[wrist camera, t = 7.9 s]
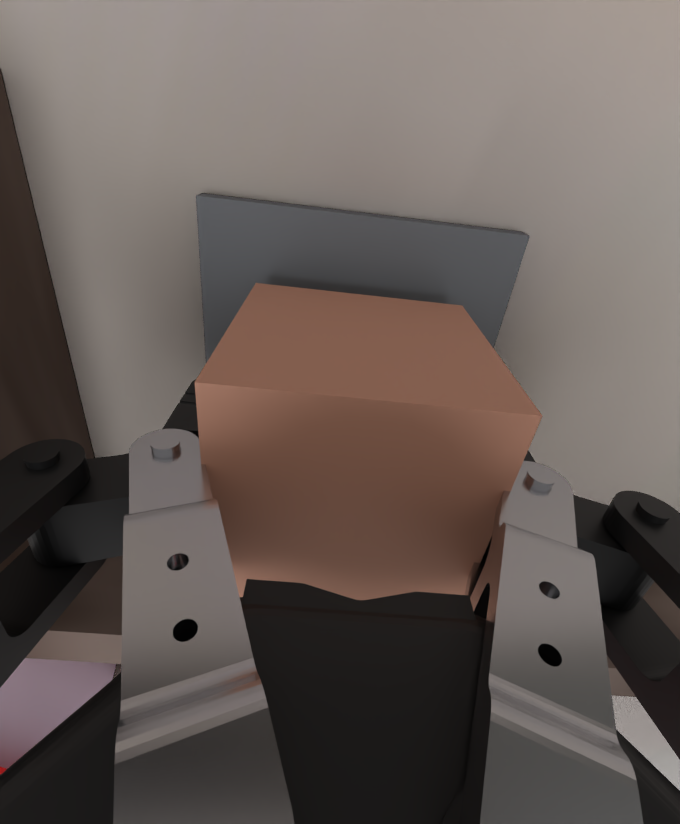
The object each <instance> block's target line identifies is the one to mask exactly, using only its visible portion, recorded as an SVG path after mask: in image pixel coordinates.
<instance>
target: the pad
mask: <svg viewBox="0 0 680 824" xmlns="http://www.w3.org/2000/svg"><path fill="white" fill-rule="evenodd" d="M196 204H197V220H198V237H199V253H200V270H201V287H202V303H203V320H204V337H205V353H206V363H207V361H208V360H209V358H210V356H211V355H212V353H213V351H214V350H215V348H216V347H217V345H218V343H219V342H220V340H221V339H222V337H223V335H224V334H225V332H226V330H227V329H228V327H229V326H230V324H231V322H232V321H233V319H234V317H235V316H236V314H237V313H238V311H239V309H240V308H241V306H242V304H243V303H244V301H245V300H246V298H247V296H248V295H249V293H250V291H251V290H252V288H253V287H254V285H255V283H262V284H271V285H280V286H289V287H298V288H307V289H316V290H325V291H335V292H344V293H353V294H362V295H371V296H380V297H389V298H398V299H408V300H417V301H426V302H435V303H444V304H453V305H462V306H463V307H464V309H465V310H466V311H467V313H468V314H469V316H470V317H471V318H472V320H473V321H474V322H475V324H476V325H477V327H478V328H479V329H480V331H481V332H482V333H483V335H484V336H485V338H486V339H487V340H488V342H489V343H490V344H491V346H492V347H493V348H494V345H495V342H496V339H497V336H498V333H499V330H500V326H501V323H502V320H503V317H504V314H505V311H506V308H507V305H508V302H509V298H510V295H511V292H512V289H513V286H514V283H515V280H516V277H517V274H518V271H519V267H520V264H521V261H522V258H523V255H524V252H525V249H526V246H527V243H528V239H529V235H527V234H525V233H523V232H519V231H511V230H503V229H494V228H486V227H478V226H470V225H461V224H453V223H445V222H437V221H428V220H420V219H412V218H404V217H395V216H387V215H379V214H371V213H362V212H354V211H346V210H337V209H329V208H321V207H313V206H304V205H296V204H288V203H280V202H271V201H263V200H255V199H247V198H238V197H230V196H222V195H214V194H205V193H201V194H199V195H196Z"/></svg>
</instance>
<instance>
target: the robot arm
mask: <svg viewBox="0 0 680 824" xmlns="http://www.w3.org/2000/svg"><path fill="white" fill-rule="evenodd" d="M195 381H196V380H194V381H193V382H192V383H191V384H190V386H189V387H188V389H187V391H186V392H185V394H184V395H183V397H182V399H181V400H180V403H178V405H177V407H176V408H175V410H174V411H173V413H172V415H171V416H170V418H169V419H168V421H167V423H166V424H165V426H164V427H163V429H161V430H156V431H153V432H150V433H147V434H145V435H143V436H141V437H140V438H138V439H137V440H136V441H135V442H134V443H133V444H132V445H131V447H130V450H129V453H128V454H124V455H118V456H109V457H101V458H92V459H87V458H86V454H85V451H84V448H83V447H82V446H81V445H80V444H79V443H77V442H74V441H71V440H66V439H49V440H42V441H38V442H34V443H31V444H28V445H25V446H23V447H21V448H19V449H17V450H15V451H13V452H12V453H10V454H9V455H7V456H6V457H5V458H3V459H2V460H0V564H1V563H2V562H3V561H4V560H5V559H6V558H8V557H9V556H10V555H11V554H12V553H13V552H14V551H15V550H16V549H17V548H18V547H19V546H21V545H22V544H23V543H24V542H25V541H26V540H28V542H29V546H28V547H27V548H26V549H25V550H24V551H23V552H22V553H21V554H20V555H18V556H17V557H16V558H15V559H14V560H13V561H12V562H11V563H10V564H9V565H8V566H7V567H6V568H5V569H4V570H3V571H1V572H0V688H1V686H2V685H3V684H4V683H5V682H6V680H7V679H8V678H9V677H10V676H11V674H12V673H13V672H14V671H15V670H16V668H17V667H18V666H19V665H20V664H21V662H22V661H23V660H24V659H25V658H26V656H27V655H28V654H29V653H30V652H31V650H32V649H33V648H34V647H35V646H36V644H37V643H38V642H39V641H40V640H41V638H42V637H43V636H44V635H45V634H46V632H47V631H48V630H49V629H50V628H51V626H52V625H53V624H54V623H55V622H56V620H57V619H58V618H59V617H60V616H61V614H62V613H63V612H64V611H65V610H66V608H67V607H68V606H69V605H70V604H71V602H72V601H73V600H74V599H75V598H76V596H77V595H78V594H79V593H80V592H81V590H82V589H83V588H84V587H85V586H86V584H87V583H88V582H89V581H90V580H91V578H92V577H93V576H94V575H95V574H96V572H97V571H98V570H99V569H100V568H101V566H102V565H103V564H104V562H105V561H106V559H107V558H112V557H118V556H123V583H122V654H121V673H120V674H119V675H118V676H116V677H115V678H114V679H113V680H112V681H111V682H109V683H108V684H107V685H106V686H105V687H103V688H102V689H101V690H100V691H99V692H98V693H96V694H95V695H94V696H93V697H92V698H90V699H89V700H88V701H87V702H86V703H84V704H83V705H82V706H81V707H80V708H79V709H77V710H76V711H75V712H74V713H73V714H71V715H70V716H69V717H68V718H67V719H66V720H64V721H63V722H62V723H61V724H60V725H58V726H57V727H56V728H55V729H54V730H53V731H51V732H50V733H49V734H48V735H47V736H45V737H44V738H43V739H42V740H41V741H40V742H38V743H37V744H36V745H35V746H34V747H32V748H31V749H30V750H29V751H28V752H27V753H25V754H24V755H23V756H22V757H21V758H19V759H18V760H17V761H16V762H15V763H14V764H12V765H11V766H10V767H9V768H8V769H6V770H5V771H4V772H3V773H2V774H1V775H0V824H680V791H679V790H678V789H677V788H676V787H675V786H674V785H673V784H672V783H671V782H670V781H669V780H668V779H667V778H666V777H665V776H664V775H663V774H662V773H661V772H660V771H658V770H657V769H656V768H655V767H654V766H653V765H652V764H651V763H650V762H649V761H648V760H647V759H646V758H645V757H644V756H643V755H642V754H641V753H640V752H639V751H638V750H637V749H636V748H635V747H634V746H633V745H632V744H631V743H630V742H629V741H628V740H626V739H625V738H624V737H623V736H622V735H621V734H620V733H619V732H618V731H617V730H616V727H615V719H614V710H613V702H612V694H611V686H610V678H609V670H608V662H607V656H608V657H609V659H610V660H611V662H612V663H613V664H614V666H615V667H616V669H617V670H618V672H619V673H620V674H621V676H622V677H623V679H624V680H625V682H626V683H627V685H628V686H629V687H630V689H631V690H632V692H633V693H634V695H635V696H636V697H637V699H638V700H639V702H640V703H641V705H642V706H643V707H644V709H645V710H646V712H647V713H648V715H649V716H650V717H651V719H652V720H653V722H654V723H655V725H656V726H657V728H658V729H659V730H660V732H661V733H662V735H663V736H664V738H665V739H666V740H667V742H668V743H669V745H670V746H671V748H672V749H673V750H674V752H675V753H676V755H677V756H678V758H679V759H680V641H679V639H678V638H677V637H676V636H675V635H674V634H673V632H672V631H671V630H670V629H669V628H668V627H667V625H666V624H665V623H664V622H663V621H662V620H661V618H660V617H659V616H658V615H657V614H656V613H655V611H654V610H653V609H652V608H651V607H650V606H649V604H648V603H647V602H646V601H645V600H644V599H643V596H644V595H645V593H646V592H647V591H648V589H649V588H650V587H651V586H652V584H653V583H654V582H655V583H656V584H657V585H658V586H659V587H660V588H661V589H662V590H663V591H664V592H665V594H666V595H667V596H668V597H669V598H670V599H671V600H672V601H673V602H674V603H675V604H676V606H677V607H678V608H679V609H680V513H679V512H677V511H676V510H675V509H674V508H672V507H671V506H669V505H668V504H666V503H665V502H663V501H661V500H659V499H657V498H655V497H652V496H650V495H647V494H644V493H640V492H635V491H622V492H619V493H617V494H616V495H615V497H614V498H613V500H612V502H611V503H610V505H609V506H608V505H604V504H601V503H598V502H594V501H591V500H588V499H584V498H581V497H578V496H575V495H573V490H572V487H571V485H570V483H569V482H568V481H567V480H566V479H565V478H564V477H563V476H562V475H561V474H560V473H558V472H557V471H555V470H553V469H551V468H550V467H547V466H545V465H542V464H540V463H536V462H535V461H534V459H533V457H532V456H531V454H530V452H529V451H527V454H526V456H525V459H524V461H523V463H522V466H521V468H520V470H519V473H518V475H517V477H516V480H515V482H514V485H513V487H512V489H511V491H503V493H502V496H501V498H500V500H499V503H498V505H497V508H496V512H495V519H494V526H493V533H492V537H491V539H490V541H489V544H488V546H487V548H486V551H485V553H484V555H483V558H482V560H481V563H476V562H474V564H473V566H472V568H471V571H470V573H469V576H468V580H467V585H466V590H465V595H456V594H443V593H429V592H410V593H404V594H398V595H392V596H386V597H381V598H375V599H369V600H355V599H352V598H349V597H345V596H342V595H339V594H336V593H333V592H329V591H326V590H323V589H320V588H317V587H314V586H310V585H307V584H304V583H295V582H282V581H268V580H255V579H247V580H246V585H245V589H244V594H243V597H239V593H238V588H237V584H236V580H235V575H234V571H233V567H232V562H231V558H230V553H229V549H228V545H227V540H226V536H225V531H224V527H223V523H222V518H221V514H220V510H219V505H218V502H217V499H216V498H214V499H213V496H212V492H211V487H210V483H209V478H208V473H207V469H206V465H205V464H201V458H200V445H199V432H198V420H197V407H196V394H195Z"/></svg>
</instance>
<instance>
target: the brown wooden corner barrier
mask: <svg viewBox="0 0 680 824" xmlns="http://www.w3.org/2000/svg"><path fill="white" fill-rule="evenodd" d="M49 439H66V440H71V441H74V442H77V443H79V444H80V445H81V446H82V447H83V448H84V451H85V454H86V458H87V459H92V458H94V455H93V450H92V446H91V442H90V438H89V434H88V430H87V426H86V422H85V417H84V413H83V409H82V405H81V401H80V397H79V393H78V389H77V384H76V380H75V376H74V372H73V368H72V364H71V360H70V356H69V351H68V347H67V343H66V339H65V335H64V331H63V327H62V323H61V318H60V314H59V310H58V306H57V302H56V298H55V294H54V290H53V285H52V281H51V277H50V273H49V269H48V265H47V261H46V257H45V252H44V248H43V244H42V240H41V236H40V232H39V228H38V224H37V219H36V215H35V211H34V207H33V203H32V199H31V195H30V191H29V186H28V182H27V178H26V174H25V170H24V166H23V162H22V158H21V153H20V149H19V145H18V141H17V137H16V133H15V129H14V125H13V120H12V116H11V112H10V108H9V104H8V100H7V96H6V92H5V87H4V83H3V79H2V75H1V71H0V460H2V459H3V458H5V457H6V456H7V455H9V454H10V453H12V452H13V451H15V450H17V449H19V448H21V447H23V446H25V445H28V444H31V443H34V442H38V441H42V440H49ZM28 546H29V542H28V540H26V541H25V542H24V543H23V544H22V545H21V546H19V547H18V548H17V549H16V550H15V551H14V552H13V553H12V554H11V555H10V556H9V557H8V558H6V559H5V560H4V561H3V562H2V563H1V564H0V572H1V571H3V570H4V569H5V568H6V567H7V566H8V565H9V564H10V563H11V562H12V561H13V560H14V559H15V558H16V557H17V556H18V555H20V554H21V553H22V552H23V551H24V550H25V549H26V548H27V547H28ZM122 583H123V556H118V557H112V558H107V559H106V561H105V562H104V564H103V565H102V566H101V568H100V569H99V570H98V571H97V572H96V574H95V575H94V576H93V577H92V578H91V580H90V581H89V582H88V583H87V584H86V586H85V587H84V588H83V589H82V590H81V592H80V593H79V594H78V595H77V596H76V598H75V599H74V600H73V601H72V602H71V604H70V605H69V606H68V607H67V608H66V610H65V611H64V612H63V613H62V614H61V616H60V617H59V618H58V619H57V620H56V622H55V623H54V624H53V625H52V626H51V628H50V629H49V630H48V631H47V632H46V634H45V635H44V636H43V637H42V638H41V640H40V641H39V642H38V643H37V644H36V646H35V647H34V648H33V649H32V650H31V652H30V653H29V654H28V655H27V656H26V658H32V659H48V660H64V661H80V662H95V663H111V664H121V654H122ZM643 599H644V600H645V601H646V602H647V603H648V604H649V606H650V607H651V608H652V609H653V610H654V611H655V613H656V614H657V615H658V616H659V617H660V618H661V620H662V621H663V622H664V623H665V624H666V625H667V627H668V628H669V629H670V630H671V631H672V632H673V634H674V635H675V636H676V637H677V638H678V639H679V641H680V609H679V608H678V607H677V606H676V604H675V603H674V602H673V601H672V600H671V599H670V598H669V597H668V596H667V595H666V594H665V592H664V591H663V590H662V589H661V588H660V587H659V586H658V585H657V584H656V583H655V582H654V583H653V584H652V586H651V587H650V588H649V589H648V591H647V592H646V593H645V595H644V596H643ZM607 662H608V670H609V678H610V686H611V694H612V695H616V696H632V697H636V696H635V695H634V693H633V692H632V690H631V689H630V687H629V686H628V685H627V683H626V682H625V680H624V679H623V677H622V676H621V674H620V673H619V672H618V670H617V669H616V667H615V666H614V664H613V663H612V662H611V660H610V659H609V657H608V656H607Z"/></svg>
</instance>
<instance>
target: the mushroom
mask: <svg viewBox="0 0 680 824" xmlns="http://www.w3.org/2000/svg"><path fill="white" fill-rule="evenodd" d="M115 667H116V664H111V663H95V662H80V661H64V660H48V659H32V658H25V659H24V660H23V661H22V662H21V664H20V665H19V666H18V667H17V668H16V670H15V671H14V672H13V673H12V674H11V676H10V677H9V678H8V679H7V680H6V682H5V683H4V684H3V685H2V686H1V688H0V775H1V774H2V773H3V772H4V771H5V770H6V769H8V768H9V767H10V766H11V765H12V764H14V763H15V762H16V761H17V760H18V759H19V758H21V757H22V756H23V755H24V754H25V753H27V752H28V751H29V750H30V749H31V748H32V747H34V746H35V745H36V744H37V743H38V742H40V741H41V740H42V739H43V738H44V737H45V736H47V735H48V734H49V733H50V732H51V731H53V730H54V729H55V728H56V727H57V726H58V725H60V724H61V723H62V722H63V721H64V720H66V719H67V718H68V717H69V716H70V715H71V714H73V713H74V712H75V711H76V710H77V709H79V708H80V707H81V706H82V705H83V704H84V703H86V702H87V701H88V700H89V699H90V698H92V697H93V696H94V695H95V694H96V693H98V692H99V691H100V690H101V689H102V688H103V687H105V686H106V685H107V684H108V683H109V682H111V681H112V679H113V675H114V671H115Z"/></svg>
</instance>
